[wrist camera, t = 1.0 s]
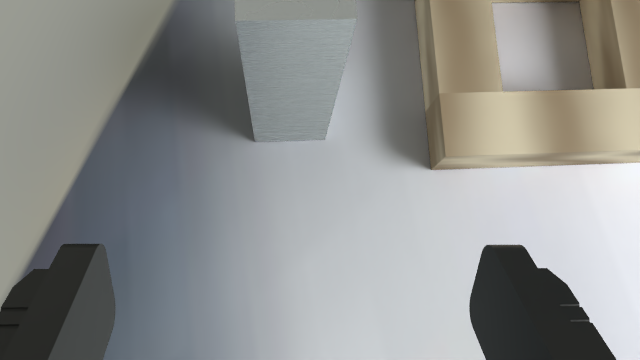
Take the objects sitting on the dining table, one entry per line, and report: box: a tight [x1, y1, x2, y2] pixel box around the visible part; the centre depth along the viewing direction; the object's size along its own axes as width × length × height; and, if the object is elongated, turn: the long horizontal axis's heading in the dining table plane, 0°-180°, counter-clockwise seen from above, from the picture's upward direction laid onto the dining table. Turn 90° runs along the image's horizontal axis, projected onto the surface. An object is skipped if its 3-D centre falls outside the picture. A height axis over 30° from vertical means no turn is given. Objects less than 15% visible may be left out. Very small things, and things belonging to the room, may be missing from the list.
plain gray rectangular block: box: [235, 0, 357, 142], centre depth 26 cm, size 4×4×14 cm
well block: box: [415, 0, 640, 170], centre depth 33 cm, size 14×14×3 cm
